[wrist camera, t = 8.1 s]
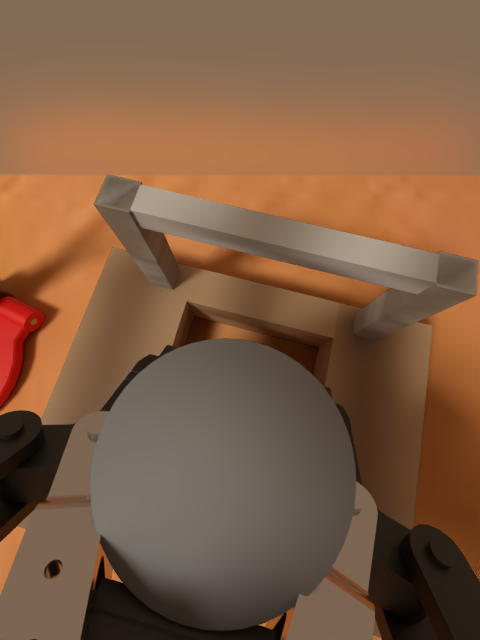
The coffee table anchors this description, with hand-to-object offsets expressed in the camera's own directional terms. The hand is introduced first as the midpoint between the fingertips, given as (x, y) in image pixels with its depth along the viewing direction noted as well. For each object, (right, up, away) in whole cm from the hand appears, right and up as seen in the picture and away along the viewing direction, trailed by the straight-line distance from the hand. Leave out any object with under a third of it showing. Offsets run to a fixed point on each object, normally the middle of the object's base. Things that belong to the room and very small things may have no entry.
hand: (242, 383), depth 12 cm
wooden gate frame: (0, -3, +6) cm, 7 cm away
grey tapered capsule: (-1, -3, +5) cm, 6 cm away
